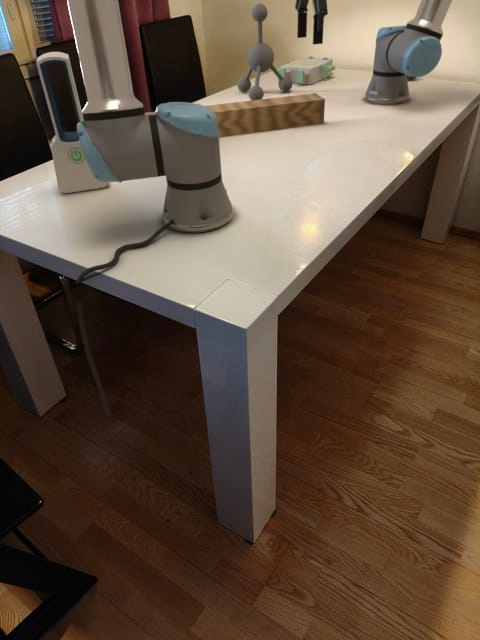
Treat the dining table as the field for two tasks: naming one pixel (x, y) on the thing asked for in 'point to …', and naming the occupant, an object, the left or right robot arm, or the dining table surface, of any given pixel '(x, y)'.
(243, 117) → the long wooden beam
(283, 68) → the clip lid food container
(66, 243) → the dining table surface
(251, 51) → the molecular model
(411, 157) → the dining table surface
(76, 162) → the electronic device
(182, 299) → the dining table surface
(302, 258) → the dining table surface
